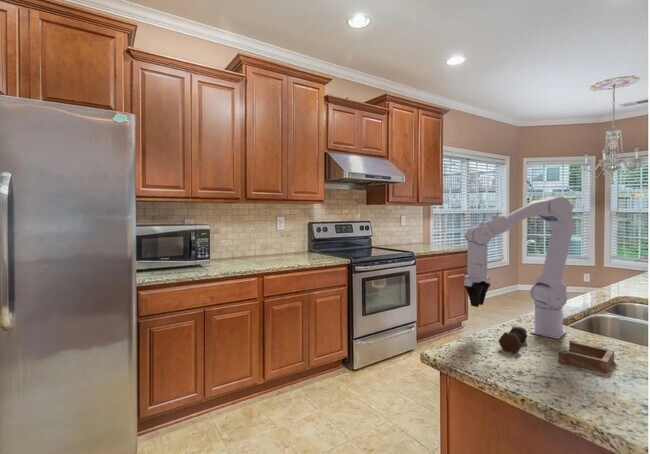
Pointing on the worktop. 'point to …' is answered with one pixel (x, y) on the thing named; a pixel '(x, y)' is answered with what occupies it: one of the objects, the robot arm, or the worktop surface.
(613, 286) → the worktop surface
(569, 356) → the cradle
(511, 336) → the bolt
